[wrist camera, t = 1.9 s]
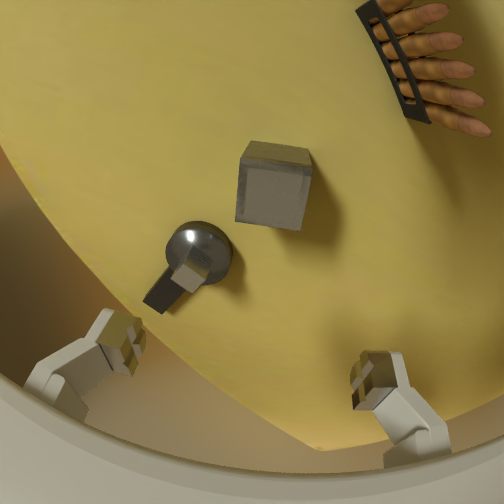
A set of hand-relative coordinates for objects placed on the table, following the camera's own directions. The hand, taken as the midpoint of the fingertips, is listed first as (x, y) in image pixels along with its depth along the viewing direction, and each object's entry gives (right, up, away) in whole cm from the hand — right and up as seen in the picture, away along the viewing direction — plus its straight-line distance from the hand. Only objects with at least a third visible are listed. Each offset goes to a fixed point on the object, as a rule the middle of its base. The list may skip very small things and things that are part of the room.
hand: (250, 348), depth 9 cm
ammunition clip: (+12, +20, +8) cm, 24 cm away
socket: (+2, +11, +15) cm, 19 cm away
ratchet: (-8, +1, +23) cm, 25 cm away
